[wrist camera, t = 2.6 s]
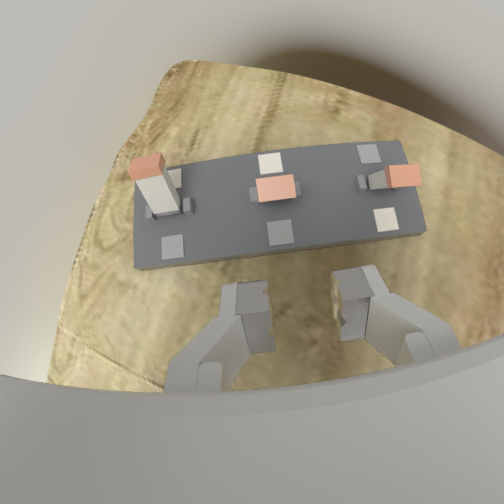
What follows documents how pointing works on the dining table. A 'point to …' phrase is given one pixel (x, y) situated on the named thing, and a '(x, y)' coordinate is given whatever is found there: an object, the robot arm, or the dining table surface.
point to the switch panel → (277, 206)
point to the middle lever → (275, 188)
